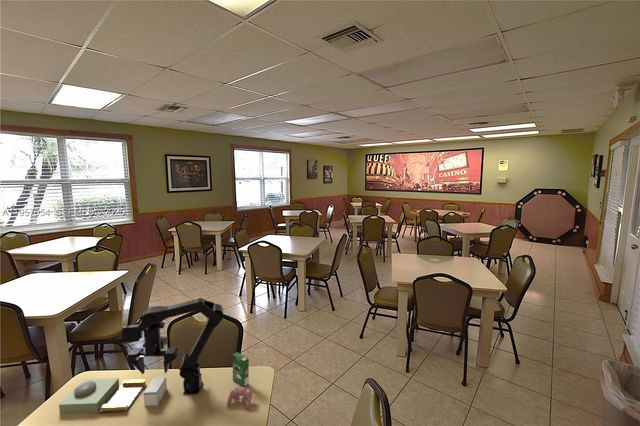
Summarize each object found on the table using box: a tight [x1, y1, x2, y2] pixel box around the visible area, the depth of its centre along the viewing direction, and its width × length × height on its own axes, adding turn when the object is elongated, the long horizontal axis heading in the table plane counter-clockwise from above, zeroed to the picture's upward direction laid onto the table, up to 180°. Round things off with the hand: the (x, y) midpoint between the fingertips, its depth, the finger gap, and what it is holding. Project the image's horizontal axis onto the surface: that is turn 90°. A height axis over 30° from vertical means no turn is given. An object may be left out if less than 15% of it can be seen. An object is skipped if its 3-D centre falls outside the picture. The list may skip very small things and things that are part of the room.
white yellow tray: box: [98, 379, 147, 414], centre depth 121 cm, size 10×15×2 cm, turn 4°
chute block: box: [143, 376, 168, 407], centre depth 122 cm, size 5×9×6 cm, turn 5°
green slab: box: [58, 377, 120, 415], centre depth 120 cm, size 14×14×6 cm
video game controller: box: [226, 386, 253, 410], centre depth 120 cm, size 10×5×7 cm, turn 84°
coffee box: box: [232, 351, 250, 388], centre depth 131 cm, size 8×3×13 cm, turn 57°
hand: (154, 372), depth 121 cm, fingers open, 9 cm apart
